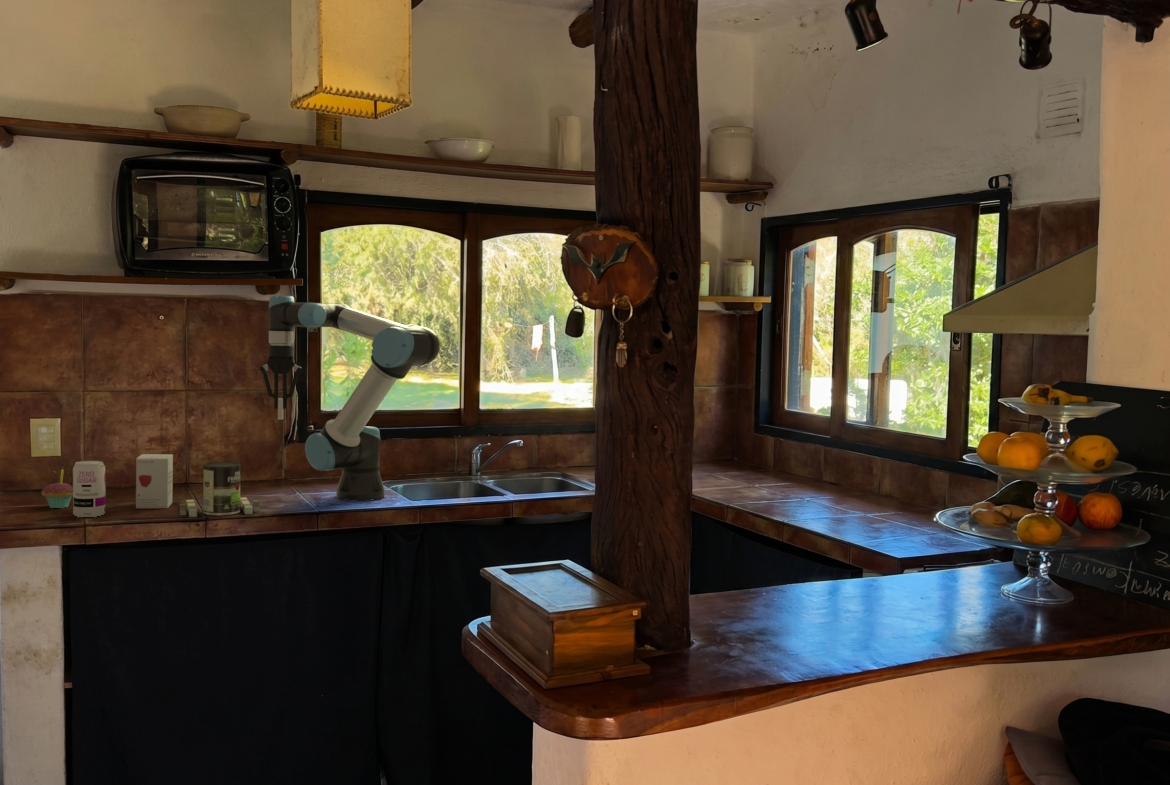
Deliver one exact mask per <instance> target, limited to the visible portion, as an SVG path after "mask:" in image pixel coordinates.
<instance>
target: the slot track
mask: <svg viewBox="0 0 1170 785" xmlns="http://www.w3.org/2000/svg"><path fill="white" fill-rule="evenodd" d="M195 502H196V501H195V500H194V499H186V502H185V503H179V516H187V513H188V518H197V517H198V508H197V506H196V503H195ZM240 505H241V506H240V508H241V507H242V508H241V510H242V509H243V510H242V511H243V513H244V514H245V515H253V512H254V513H257V512H260V500H253V501H252V504H251V503H250V501H249V499H248V498H247V497H246V496H245V497H243V496H242V497H240Z"/></svg>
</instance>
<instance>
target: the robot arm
mask: <svg viewBox="0 0 1170 785" xmlns="http://www.w3.org/2000/svg"><path fill="white" fill-rule="evenodd" d="M268 303H269V304H268V343H269V345H268V360H266V364H263V365H262V366H260V367H259V370H260V372H261V373H262V374H263V378H264V382H265V387H266V392H267V395H268V397H271V398H273V400H274V401H273V402H274V404H273V407H274V409H277V420H278V421H279V420H284V410H286V409H287V408H288V399H289V398H291V397H293V395H294V391H295V389H296V384H297V380H298V377H299V374H300V372H301V371H302V366H299V365H297V364H296V362H295V359H294V345H293V344H294V339H295V338H294V337H295V336H294V335H295V333H294V331H295V330H294V327H299V328H309V329H310V328H311V329H312V328H334V329H336V330H340V331H343V332H346V333H349V334H352V335H355V336H358V337H362V338H363V339H364V338H365V339H367V340H370V341H372V343H371V347H372V349H371V356H370V361H371V365H370V366H369V368H367V370H366V372H365V374H364V375H363V376H362V379H361V380H360V381H359V383H358V384H357V385H356V387H355V389H354V390H353V392H352V393H351V395H350V396H349V398H348V399H347V401H345V404H344V405H343V407H342V408H341V410H340V411H339V412H338V414H337V415H336V417H335V418H334V419H330V420H327V421H326V423H325V425H324V426H323V427H322V429H321V430H320V431H319V432H314V433H312V434H310V435H309V436H308V437H307V438H306V441H305V443H304V444H305V445H304V451H305V457H306V459H307V461H308V463H309V464H310V466H311V467H312V468H313V469H315V470H317V471H321V472H323V471H324V472H328V471H332V470H339V469H342V470H341V471H342V472H341V476H340V479H339V481H338V484H337V487H336V490H335V491H336V492H335V493H336V494H335V495H336V496H335V497H336V498H337V499H339V498H340V499H339V500H343V499H345V500H344V501H351V500H368V501H372V500H371V499H377V500H380V499H379V498H381V499H383V498H382V497H384V496H385V495H386V493H385V492H386V491H385V487H384V483H383V480H382V477H381V474H380V460H381V459H380V458H381V432H380V429H379V428H378V427H376V426H369V425H368V426H367V424H368V423H369V421H370V419H371V418H372V416H373V415H374V413H376V411H377V409H378V408H379V406H380V405H381V403H382V401H383V400H384V399H385V398H386V396H387V394H388V393H389V391H390V390H391V389H392V388H393V386H394V384H395V383H396V381H397V380H403V379H404V378H405V377H406V376H407V375H408V373H409V372H410V370H411V368H412V367H414V366H417V367H418V366H419V367H420V366H425V365H428V364H430V363H432V362H433V361H434V360H435V359H436V358H437V357H438V355H439V353H440V349H441V348H440V347H441V344H440V339H439V337H438V334H436V332H435V331H434V330H432V329H431V328H429V327H425V326H420V325H417V324H414V323H413V324H412V323H411V324H408V325H405V324H401V323H399V322H395V321H392V320H389V319H387V318H383V317H380V316H376V315H373V314H370V313H366V312H363V311H361V310H357V309H354V308H351V307H350V306H349V304H348V305H347V304H345V303H338V302H337V303H324V302H321V303H320V302H295V298H294V296H292V295H271V296H270V297H269V301H268ZM269 369H270V371H271V372H272V373H273V374H274V377H273V378H274V379H273V380H274V387H273V389H274V391H273V389H272V386H271V381H270V378H269V372H268V371H269ZM292 369H293V372H294V374H293V377H292V381H291V384H290V387H289V392H288V374H289V373H290V371H292ZM280 375H282V398H281V397H280V398H279V396H280V395H279V393H280V388H279V386H280V385H279V383H280V381H279V380H280V377H279V376H280ZM384 498H385V497H384Z"/></svg>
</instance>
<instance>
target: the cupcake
mask: <svg viewBox="0 0 1170 785" xmlns="http://www.w3.org/2000/svg"><path fill="white" fill-rule="evenodd" d="M61 468H62V469H61V470H60V477H59V482H57V483H56V482H55V483H50V484H48V485H46V486H45V487H44V488H42V489H41V496H42V497H45V499H46V501H47V503H48V506H49V508H50V509H53V508H60V509H66V508H68V507H69V505H70V502H71V500H72V499H73V485H71V484H69V483H68V482H67V483H65V482H63V478H64V471H65V470H64V467H61ZM65 507H66V508H65Z"/></svg>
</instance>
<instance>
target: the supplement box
mask: <svg viewBox="0 0 1170 785" xmlns="http://www.w3.org/2000/svg"><path fill="white" fill-rule="evenodd" d="M135 459H136V461H135V462H136V463H135V464H136V465H135V469H136V470H135V471H136V472H135V474H136V475H135V509H169V507H170V506H171V505H172V503H173V477H174V476H173V473H174V472H173V470H174V468H173V466H174V464H173V463H174V462H173V461H174V454H170V453H169V454H166V453H165V454H162V453H150V454H149V453H141V454H140V455H139V456H138V457H136V458H135Z"/></svg>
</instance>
